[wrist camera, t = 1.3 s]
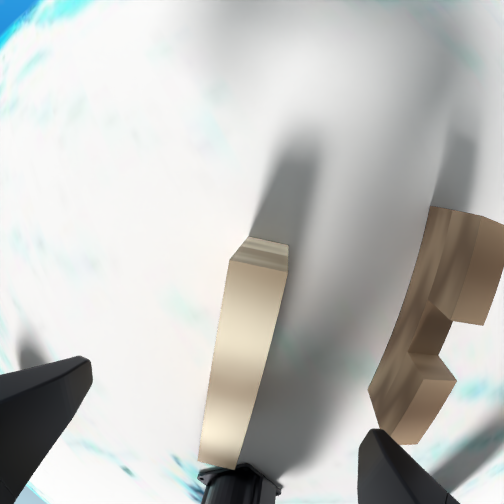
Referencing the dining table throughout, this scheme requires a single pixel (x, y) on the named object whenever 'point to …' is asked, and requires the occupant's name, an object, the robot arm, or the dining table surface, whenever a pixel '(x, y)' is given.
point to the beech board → (242, 346)
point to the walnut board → (435, 319)
